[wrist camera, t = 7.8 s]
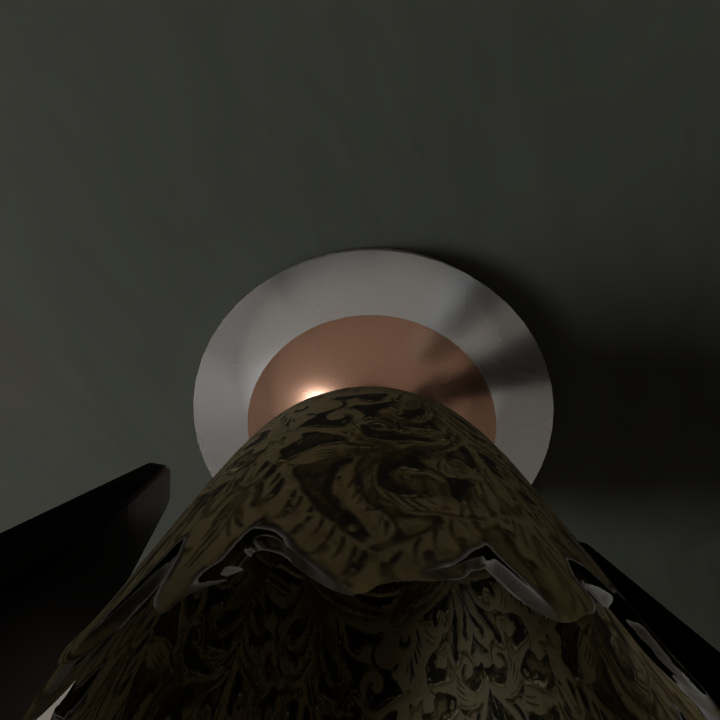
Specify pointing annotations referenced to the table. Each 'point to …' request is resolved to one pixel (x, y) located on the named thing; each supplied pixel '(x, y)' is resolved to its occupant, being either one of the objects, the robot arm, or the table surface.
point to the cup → (369, 590)
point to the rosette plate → (374, 350)
